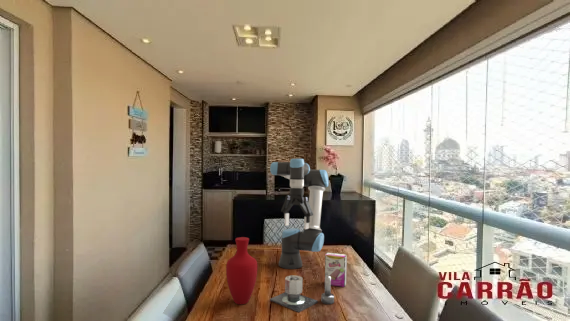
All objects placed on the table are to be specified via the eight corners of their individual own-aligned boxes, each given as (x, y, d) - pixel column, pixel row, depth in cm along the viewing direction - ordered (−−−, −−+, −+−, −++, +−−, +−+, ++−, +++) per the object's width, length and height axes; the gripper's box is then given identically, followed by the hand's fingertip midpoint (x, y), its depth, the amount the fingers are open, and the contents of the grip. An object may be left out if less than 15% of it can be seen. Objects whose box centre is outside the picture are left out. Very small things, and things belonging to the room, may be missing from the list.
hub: (269, 300, 154) (270, 279, 154) (288, 292, 165) (289, 272, 165) (299, 312, 142) (299, 289, 142) (317, 302, 153) (317, 281, 153)
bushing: (284, 293, 150) (284, 281, 150) (286, 287, 158) (286, 275, 158) (301, 294, 149) (301, 281, 149) (302, 288, 157) (302, 275, 157)
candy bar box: (324, 284, 175) (324, 254, 175) (326, 281, 180) (326, 252, 180) (345, 287, 171) (345, 256, 171) (346, 284, 176) (346, 254, 176)
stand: (318, 301, 153) (319, 276, 154) (325, 297, 158) (326, 273, 158) (329, 305, 149) (329, 279, 150) (336, 301, 154) (336, 276, 154)
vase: (229, 311, 143) (230, 243, 143) (222, 298, 156) (223, 236, 157) (261, 305, 149) (262, 240, 149) (251, 293, 162) (252, 233, 162)
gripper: (275, 186, 178) (274, 224, 178) (311, 189, 161) (310, 231, 161) (284, 185, 183) (283, 223, 183) (320, 188, 167) (319, 229, 167)
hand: (296, 227), depth 172 cm, fingers open, 13 cm apart
